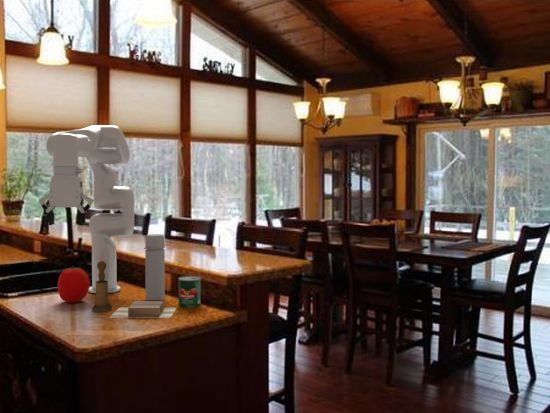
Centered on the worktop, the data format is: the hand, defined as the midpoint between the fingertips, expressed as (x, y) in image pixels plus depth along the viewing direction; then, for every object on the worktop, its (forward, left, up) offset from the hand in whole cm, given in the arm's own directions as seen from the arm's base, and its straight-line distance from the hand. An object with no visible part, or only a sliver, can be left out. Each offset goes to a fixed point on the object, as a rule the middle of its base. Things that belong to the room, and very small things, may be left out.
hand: (66, 224), depth 183 cm
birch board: (-5, +24, -31) cm, 40 cm away
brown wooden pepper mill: (-8, +9, -31) cm, 34 cm away
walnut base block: (-4, +25, -30) cm, 39 cm away
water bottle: (-28, +23, -31) cm, 48 cm away
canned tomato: (-16, +38, -31) cm, 52 cm away
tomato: (-25, -6, -31) cm, 41 cm away
